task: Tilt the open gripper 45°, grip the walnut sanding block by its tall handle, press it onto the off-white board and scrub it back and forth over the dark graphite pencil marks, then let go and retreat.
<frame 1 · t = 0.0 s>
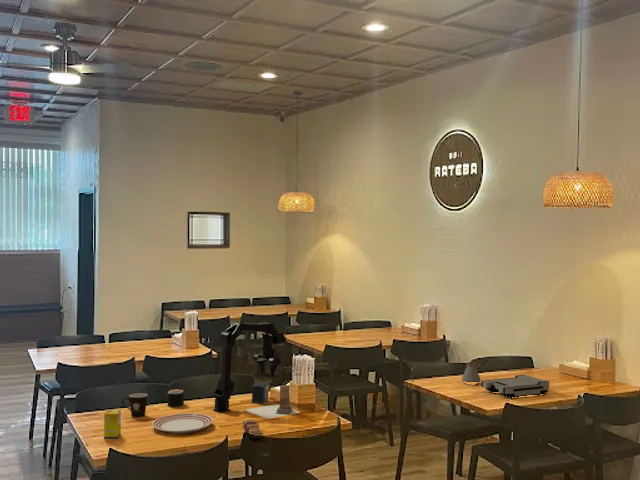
hand: (267, 374, 347), 15 cm above the table, tool pointing down, fingers open, 9 cm apart
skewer: (251, 434, 290), on the table
sushi: (175, 405, 338), on the table
small box: (260, 403, 344), on the table
dinner plate: (182, 428, 297), on the table
coffee mug: (135, 415, 317), on the table
game console: (514, 394, 373), on the table
supplement box: (112, 437, 282), on the table
board: (272, 413, 323), on the table
sanding block: (284, 411, 322), point 1 cm above the table, touching board
coffee pot: (477, 383, 400), on the table
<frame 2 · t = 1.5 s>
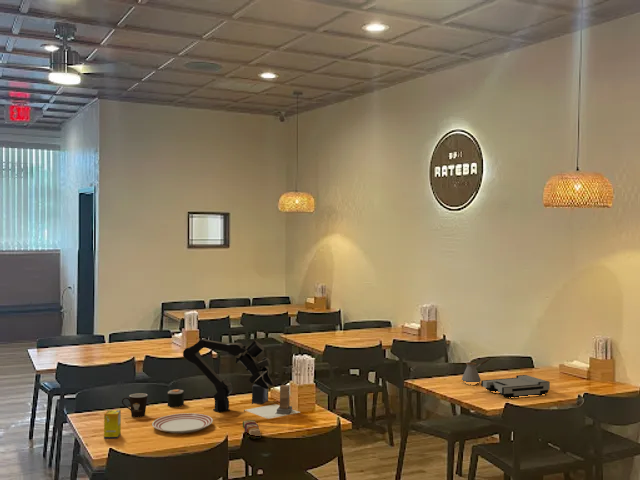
hand: (270, 386, 324), 13 cm above the table, tool tilted 45°, fingers open, 9 cm apart
nothing on the table moved.
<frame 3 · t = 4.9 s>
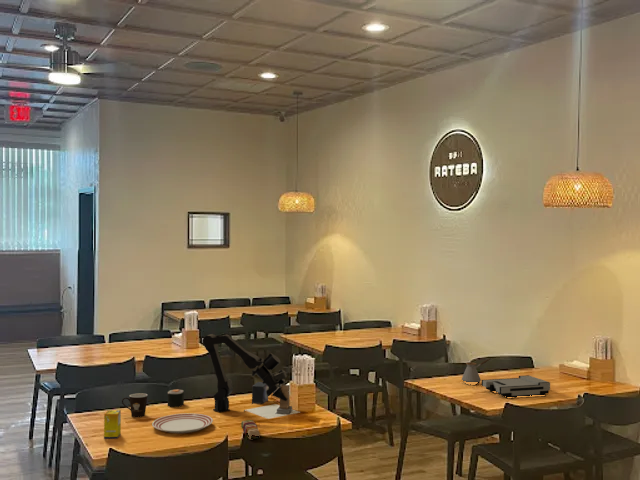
hand: (287, 399, 322), 8 cm above the table, tool tilted 45°, fingers closed on sanding block, 4 cm apart
sanding block: (284, 411, 322), point 1 cm above the table, touching board, gripper
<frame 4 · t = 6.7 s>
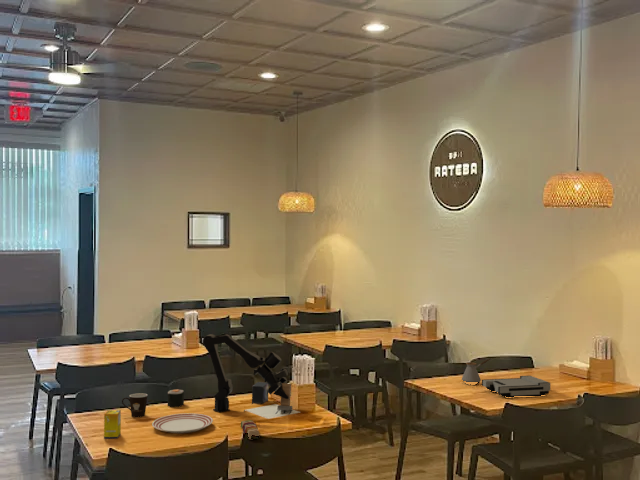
hand: (289, 397, 324), 8 cm above the table, tool tilted 45°, fingers closed on sanding block, 5 cm apart
sanding block: (284, 409, 323), point 2 cm above the table, tilted 12°, touching board, gripper
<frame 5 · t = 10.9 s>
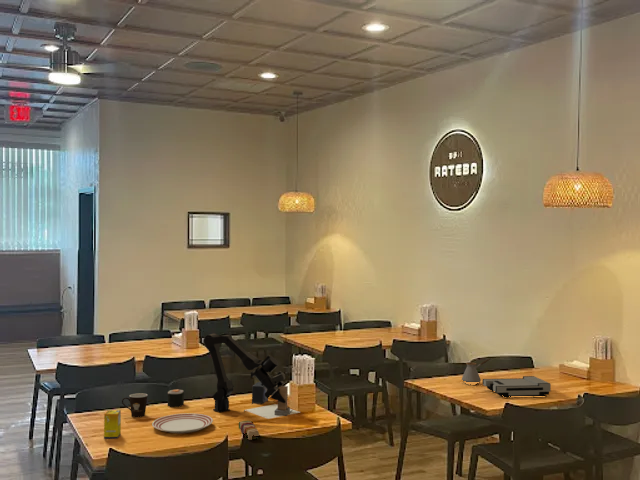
hand: (285, 401, 319), 7 cm above the table, tool tilted 45°, fingers closed on sanding block, 4 cm apart
sanding block: (282, 413, 320), point 1 cm above the table, touching gripper
when the fingers open (7 cm above the table, at t = 11.8 s): sanding block stays where it is, resting on board.
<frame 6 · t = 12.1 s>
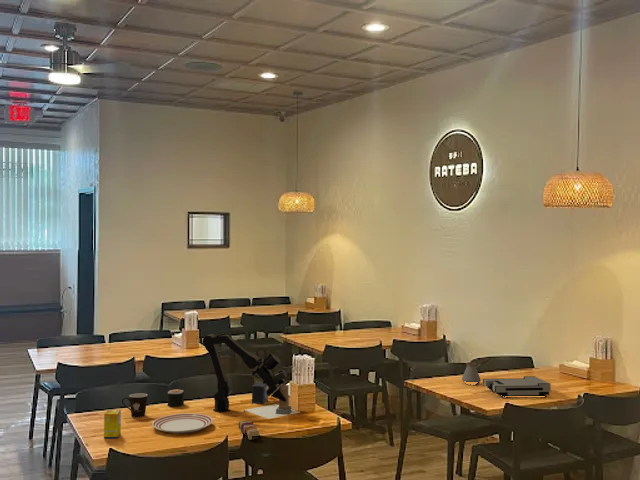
hand: (287, 399, 322), 8 cm above the table, tool tilted 45°, fingers open, 7 cm apart
sanding block: (283, 411, 322), point 1 cm above the table, touching board
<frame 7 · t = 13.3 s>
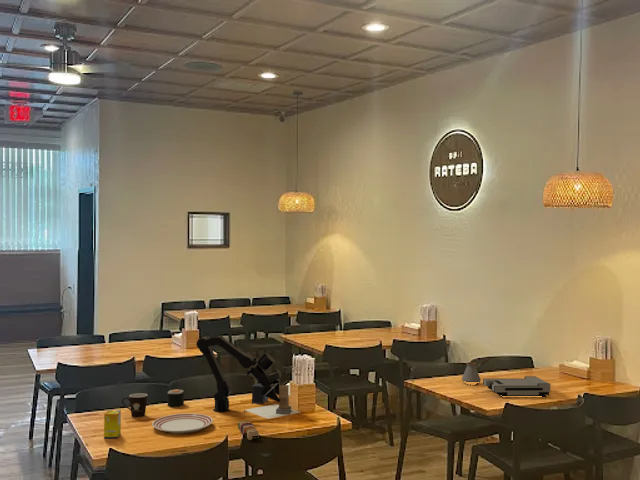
hand: (281, 399, 323), 7 cm above the table, tool tilted 45°, fingers open, 9 cm apart
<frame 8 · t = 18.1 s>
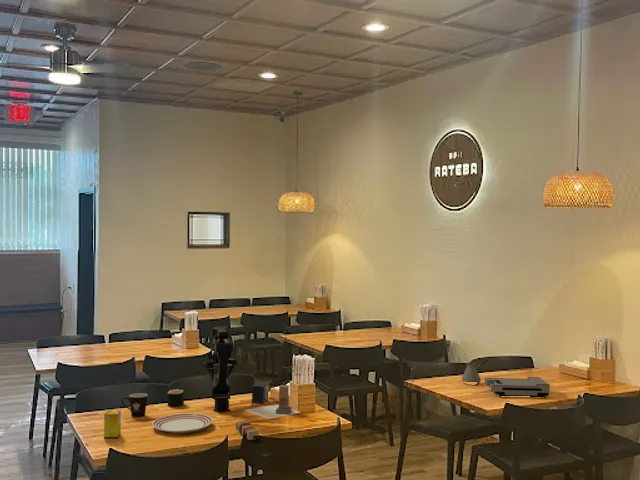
hand: (219, 379, 341), 13 cm above the table, tool pointing down, fingers open, 9 cm apart
at the end: sanding block inside the target area on the board (0.4 cm from its centre), point 1.2 cm above the board's base; sanding block tilted 0°; the gripper is holding nothing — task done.
